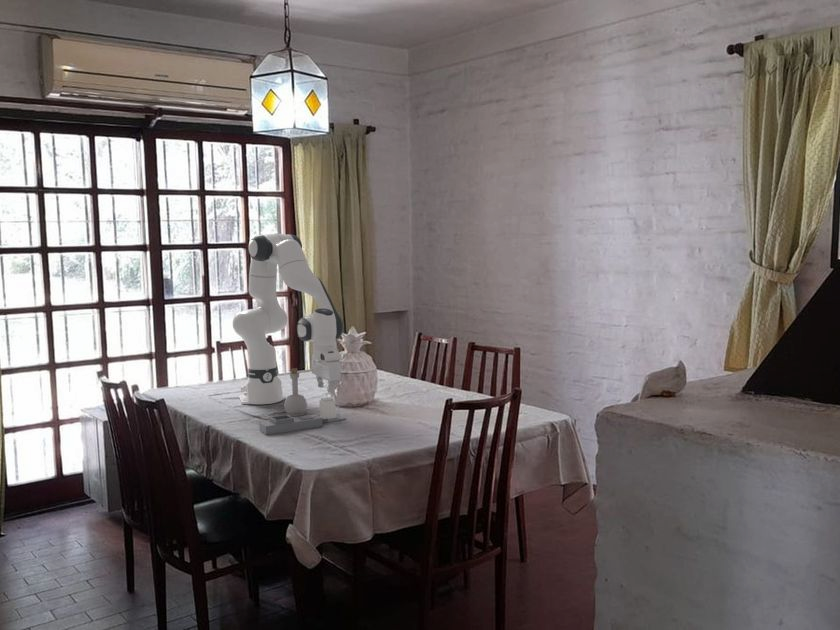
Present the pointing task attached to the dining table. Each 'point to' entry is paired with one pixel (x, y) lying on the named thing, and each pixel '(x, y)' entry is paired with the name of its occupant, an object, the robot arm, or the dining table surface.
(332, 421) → the mat
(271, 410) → the dining table surface
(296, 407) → the potion bottle
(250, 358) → the robot arm
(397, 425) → the dining table surface
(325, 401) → the block
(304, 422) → the power strip
